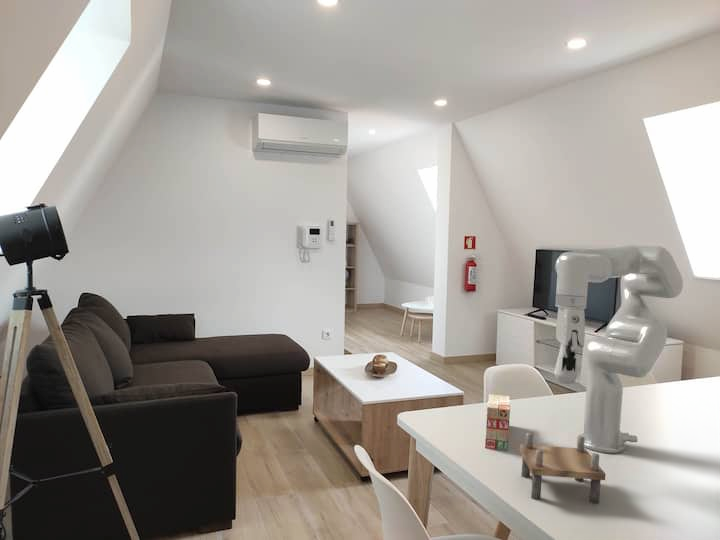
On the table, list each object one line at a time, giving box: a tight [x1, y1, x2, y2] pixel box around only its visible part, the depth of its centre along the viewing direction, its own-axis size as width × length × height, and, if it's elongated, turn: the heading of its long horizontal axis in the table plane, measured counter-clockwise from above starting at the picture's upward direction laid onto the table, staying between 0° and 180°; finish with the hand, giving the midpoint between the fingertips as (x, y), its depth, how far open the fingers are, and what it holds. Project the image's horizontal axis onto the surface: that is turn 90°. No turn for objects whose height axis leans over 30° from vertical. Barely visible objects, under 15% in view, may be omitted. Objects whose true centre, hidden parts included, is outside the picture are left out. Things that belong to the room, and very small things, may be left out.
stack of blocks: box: [484, 393, 511, 452], centre depth 159 cm, size 21×6×12 cm, turn 165°
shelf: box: [519, 432, 607, 505], centre depth 127 cm, size 16×14×11 cm
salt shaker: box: [553, 343, 579, 385], centre depth 140 cm, size 6×6×13 cm
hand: (566, 370), depth 140 cm, fingers closed on salt shaker, 3 cm apart
